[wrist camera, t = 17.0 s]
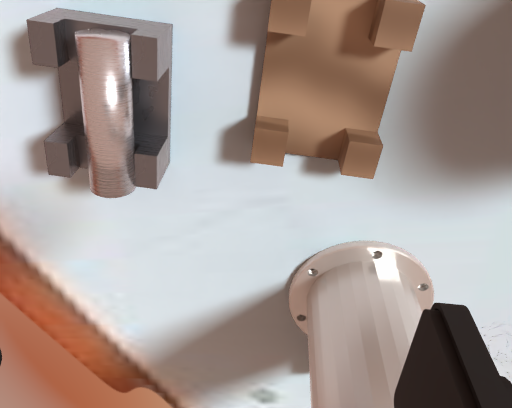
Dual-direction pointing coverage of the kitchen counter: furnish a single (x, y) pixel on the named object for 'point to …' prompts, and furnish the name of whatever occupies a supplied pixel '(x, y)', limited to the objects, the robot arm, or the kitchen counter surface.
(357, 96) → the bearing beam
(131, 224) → the kitchen counter surface
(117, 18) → the V-block
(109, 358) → the kitchen counter surface
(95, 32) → the steel axle
